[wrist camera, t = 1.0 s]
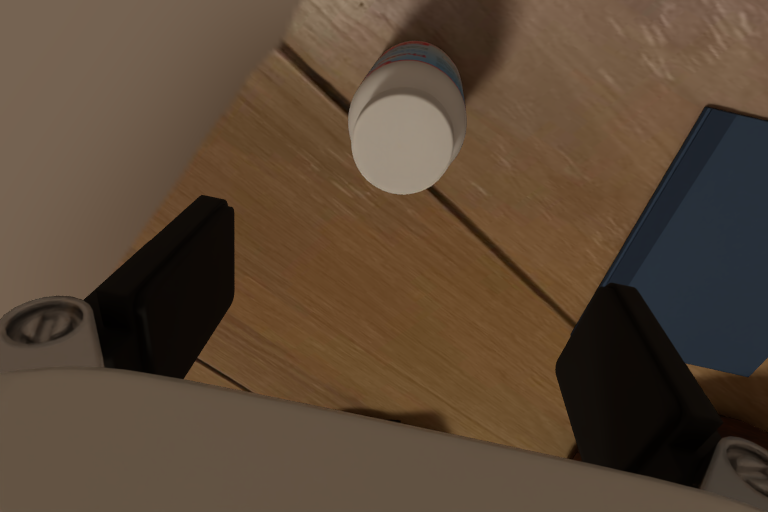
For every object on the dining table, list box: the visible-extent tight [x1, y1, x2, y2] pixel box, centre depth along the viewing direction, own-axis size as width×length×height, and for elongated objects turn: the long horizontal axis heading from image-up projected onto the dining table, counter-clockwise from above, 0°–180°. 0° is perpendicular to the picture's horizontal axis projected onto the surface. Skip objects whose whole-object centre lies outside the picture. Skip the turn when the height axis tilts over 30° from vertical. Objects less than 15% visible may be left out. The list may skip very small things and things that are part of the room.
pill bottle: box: [348, 41, 467, 194], centre depth 24 cm, size 6×6×11 cm
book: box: [571, 107, 768, 377], centre depth 33 cm, size 20×16×1 cm
